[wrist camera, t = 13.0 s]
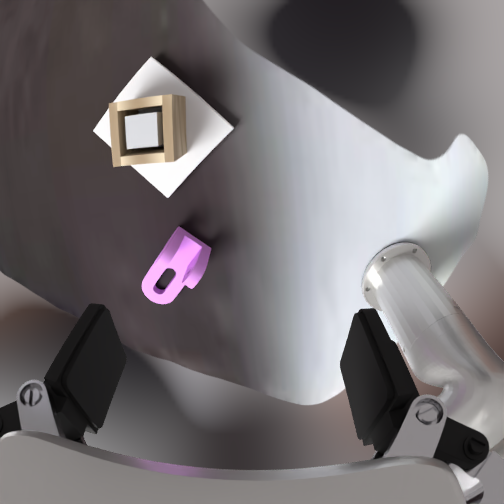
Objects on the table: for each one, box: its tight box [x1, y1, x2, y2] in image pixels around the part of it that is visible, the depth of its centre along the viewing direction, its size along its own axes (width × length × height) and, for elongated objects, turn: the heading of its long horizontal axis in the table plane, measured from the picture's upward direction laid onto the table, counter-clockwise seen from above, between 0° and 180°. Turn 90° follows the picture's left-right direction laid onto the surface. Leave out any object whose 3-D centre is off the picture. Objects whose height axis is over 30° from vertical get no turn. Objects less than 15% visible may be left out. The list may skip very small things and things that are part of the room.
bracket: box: [142, 226, 212, 304], centre depth 39 cm, size 13×6×7 cm, turn 142°
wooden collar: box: [109, 94, 187, 167], centre depth 28 cm, size 7×7×6 cm
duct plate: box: [93, 57, 234, 198], centre depth 29 cm, size 14×12×7 cm
